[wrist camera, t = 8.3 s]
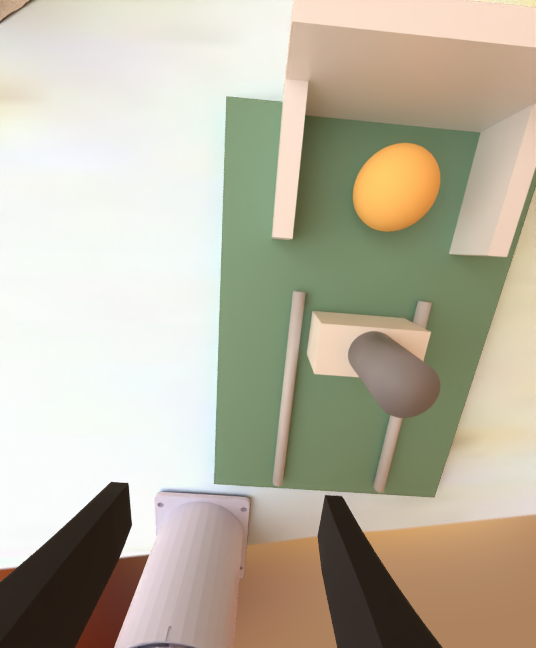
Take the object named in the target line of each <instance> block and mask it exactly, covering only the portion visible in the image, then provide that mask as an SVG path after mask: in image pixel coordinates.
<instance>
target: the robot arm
mask: <svg viewBox="0 0 536 648" xmlns="http://www.w3.org/2000/svg"><path fill="white" fill-rule="evenodd" d="M243 507H245V508H243ZM249 510H250V499H249V498H247V497H241V496H224V495H207V494H190V493H174V492H159V493H157V494H156V497H155V517H156V540H155V542H154V545H153V547H152V550H151V553H150V555H149V558H148V561H147V563H146V566H145V569H144V571H143V574H142V576H141V579H140V582H139V584H138V587H137V589H136V592H135V595H134V597H133V600H132V602H131V605H130V608H129V610H128V613H127V616H126V618H125V621H124V623H123V627H122V629H121V631H120V634H119V636H118V639H117V642H116V645H115V647H114V648H234V636H235V624H236V612H237V600H238V588H239V579H241V578H243V577H244V572H245V560H246V548H247V535H248V523H249ZM131 526H132V521H131V509H130V497H129V485H128V483H118V482H111V483H110V484H108V485H107V486H106V487H105V488H104V489H103V490H102V491H101V492H100V493H99V494H98V495H97V496H96V497H95V498H94V499H93V500H92V501H90V502H89V503H88V504H87V505H86V506H85V507H84V508H83V509H82V510H81V511H80V512H79V513H78V514H77V515H76V516H75V517H73V518H72V519H71V520H70V521H69V522H68V523H67V524H66V525H65V526H64V527H63V528H62V529H60V530H59V531H58V532H57V533H56V534H55V535H54V536H53V537H52V538H51V539H49V540H48V541H47V542H46V543H45V544H44V545H43V546H42V547H41V548H39V549H38V550H37V551H36V552H35V553H34V554H33V555H31V556H30V557H29V558H28V559H27V560H26V561H24V562H23V563H22V564H21V565H20V566H19V567H17V568H16V569H15V570H14V571H13V572H12V573H11V574H9V575H8V576H7V577H6V578H4V579H3V580H2V581H1V582H0V648H75V646H76V644H77V642H78V640H79V638H80V636H81V634H82V632H83V630H84V628H85V626H86V624H87V622H88V620H89V618H90V616H91V614H92V612H93V610H94V608H95V606H96V604H97V602H98V600H99V598H100V596H101V594H102V592H103V590H104V588H105V586H106V584H107V582H108V580H109V578H110V576H111V574H112V572H113V570H114V568H115V566H116V564H117V562H118V559H119V557H120V555H121V552H122V550H123V547H124V545H125V542H126V540H127V537H128V534H129V532H130V529H131ZM318 543H319V552H320V560H321V567H322V568H321V569H322V575H323V579H324V584H325V590H326V595H327V600H328V604H329V609H330V614H331V619H332V624H333V628H334V633H335V637H336V643H337V648H442V646H441V645H440V644H439V643H438V641H437V640H436V639H435V637H434V636H433V635H432V633H431V632H430V631H429V629H428V628H427V627H426V625H425V624H424V623H423V621H422V620H421V619H420V617H419V616H418V615H417V614H416V612H415V610H414V609H413V608H412V606H411V605H410V603H409V602H408V601H407V599H406V598H405V596H404V595H403V593H402V592H401V590H400V589H399V588H398V586H397V585H396V583H395V582H394V580H393V579H392V577H391V576H390V574H389V573H388V571H387V570H386V568H385V567H384V565H383V564H382V562H381V560H380V559H379V557H378V556H377V554H376V553H375V552H374V549H373V548H372V546H371V545H370V543H369V541H368V540H367V538H366V537H365V535H364V533H363V532H362V530H361V528H360V526H359V525H358V523H357V521H356V520H355V518H354V516H353V514H352V513H351V511H350V509H349V507H348V506H347V504H346V502H345V500H344V499H343V497H342V496H330V495H325V499H324V504H323V510H322V515H321V521H320V526H319V532H318Z"/></svg>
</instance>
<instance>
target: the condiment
mask: <svg viewBox="0 0 536 648" xmlns="http://www.w3.org/2000/svg"><path fill="white" fill-rule="evenodd" d="M28 1H29V0H0V21H1V20H2V19H3V18H4V17H6V16H7V15H8V14H10V13H11V12H13V11H16V10H18V9H19V8H21V7H23V5H24V4H25V3H26V2H28Z"/></svg>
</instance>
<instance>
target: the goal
mask: <svg viewBox="0 0 536 648" xmlns="http://www.w3.org/2000/svg"><path fill="white" fill-rule="evenodd" d="M305 115H307V116H318V117H328V118H338V119H348V120H358V121H369V122H379V123H389V124H399V125H409V126H420V127H430V128H440V129H450V130H460V131H471V132H481V133H480V137H479V141H478V144H477V148H476V152H475V156H474V160H473V164H472V167H471V171H470V175H469V179H468V183H467V187H466V190H465V194H464V198H463V202H462V206H461V210H460V213H459V217H458V221H457V225H456V229H455V233H454V236H453V240H452V244H451V248H450V252H449V254H453V255H465V256H492V257H507V255H508V252H509V249H510V246H511V243H512V240H513V237H514V234H515V230H516V227H517V224H518V221H519V218H520V215H521V212H522V209H523V205H524V202H525V199H526V196H527V193H528V190H529V187H530V184H531V180H532V177H533V174H534V171H535V168H536V7H528V6H519V5H510V4H501V3H492V2H483V1H474V0H293V6H292V16H291V25H290V35H289V44H288V53H287V63H286V72H285V82H284V91H283V104H282V116H281V128H280V141H279V153H278V166H277V178H276V190H275V203H274V215H273V227H272V239H278V240H290V239H293V229H294V219H295V209H296V200H297V190H298V180H299V170H300V160H301V150H302V141H303V131H304V121H305Z"/></svg>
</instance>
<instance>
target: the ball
mask: <svg viewBox="0 0 536 648" xmlns="http://www.w3.org/2000/svg"><path fill="white" fill-rule="evenodd" d="M439 188H440V170H439V166H438V163H437V162H436V160H435V158H434V157H433V155H432V154H431V153H430V152H429V151H428V150H427V149H425V148H423V147H422V146H419V145H416V144H412V143H398V144H394V145H390V146H388V147H385V148H383V149H381V150H380V151H378V152H377V153H375V154H374V155H373V156H372V157H371V158H370V159H369V160H367V162H366V163H365V164H364V165H363V167H362V168H361V170H360V171H359V173H358V175H357V178H356V180H355V184H354V188H353V204H354V208H355V210H356V213H357V215H358V216H359V218H360V219H361V220H362V221H363V222H364V223H365V224H366V225H367V226H369V227H371V228H373V229H375V230H379V231H385V232H390V231H398V230H401V229H404V228H407V227H409V226H411V225H413V224H414V223H416V222H417V221H418V220H420V219H421V218H422V217H423V216H424V215H425V214H426V213H427V212H428V211H429V209H430V208H431V206H432V205H433V203H434V201H435V200H436V197H437V195H438V191H439Z"/></svg>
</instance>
